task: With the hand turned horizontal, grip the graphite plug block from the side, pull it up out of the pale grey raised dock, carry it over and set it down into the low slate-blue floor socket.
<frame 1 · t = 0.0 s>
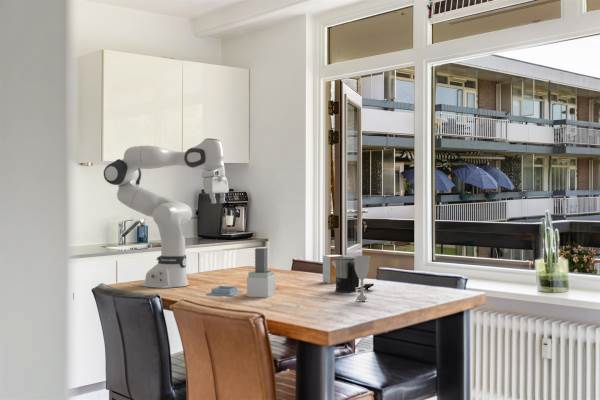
hand: (218, 203, 289), 39 cm above the table, tool pointing down, fingers open, 8 cm apart
floor socket: (224, 293, 274), on the table
milk frother: (354, 291, 280), on the table
raised dock: (261, 295, 269), on the table
small box: (333, 282, 305), on the table
plug block: (261, 276, 269), point 8 cm above the table, touching raised dock
chalice: (362, 301, 255), on the table
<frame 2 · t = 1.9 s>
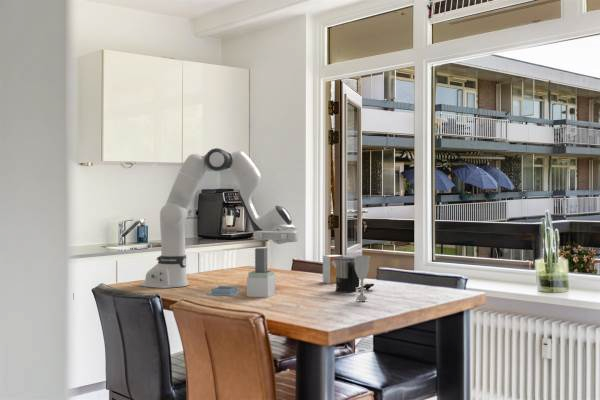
hand: (270, 236, 280), 24 cm above the table, tool horizontal, fingers open, 8 cm apart
nothing on the table moved.
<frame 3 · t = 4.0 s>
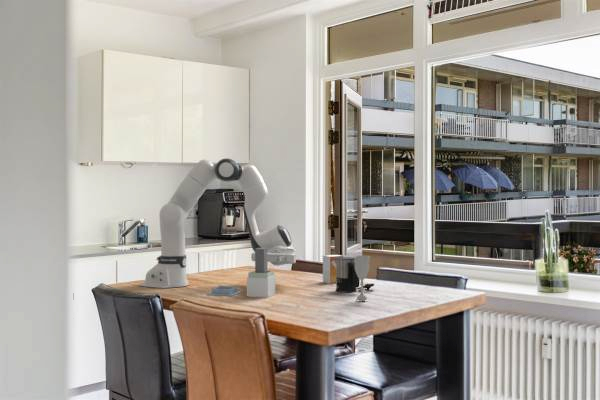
hand: (268, 259, 277), 14 cm above the table, tool horizontal, fingers open, 8 cm apart
nothing on the table moved.
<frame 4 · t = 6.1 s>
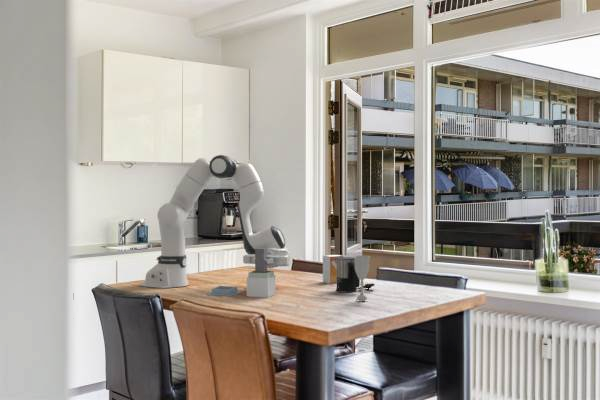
hand: (260, 261, 268), 15 cm above the table, tool horizontal, fingers closed on plug block, 4 cm apart
plug block: (261, 276, 269), point 8 cm above the table, touching gripper, raised dock
everything else where it was.
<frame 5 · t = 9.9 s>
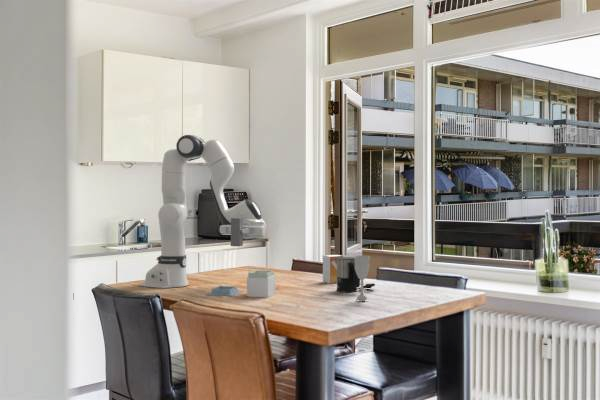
hand: (236, 231, 270), 27 cm above the table, tool horizontal, fingers closed on plug block, 4 cm apart
plug block: (236, 245, 271), point 21 cm above the table, touching gripper
everything else where it was.
when the fingers open (9 cm above the table, at t = 13.7 s): plug block drops 2 cm, resting on floor socket.
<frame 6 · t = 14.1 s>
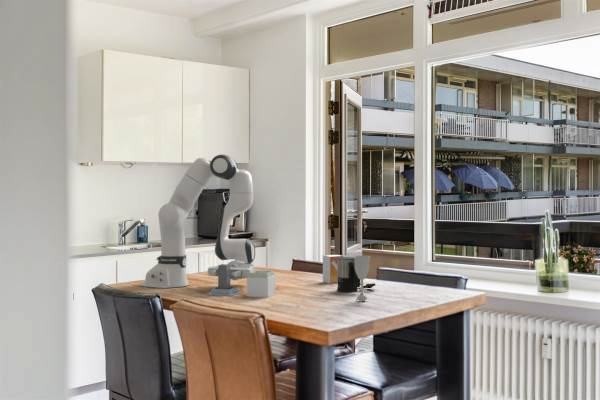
hand: (223, 274, 273), 9 cm above the table, tool horizontal, fingers open, 8 cm apart
plug block: (224, 292, 274), resting on floor socket
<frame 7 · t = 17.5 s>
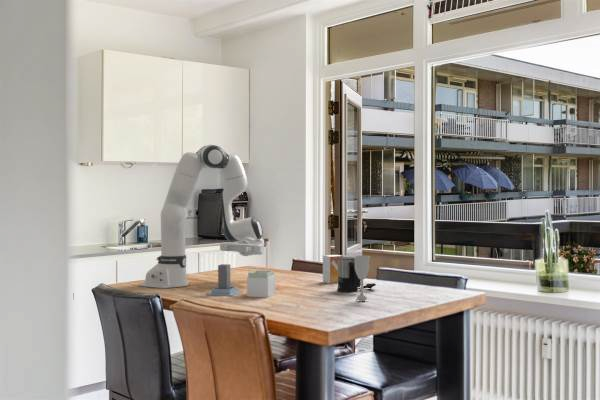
hand: (235, 248, 286), 18 cm above the table, tool horizontal, fingers open, 8 cm apart
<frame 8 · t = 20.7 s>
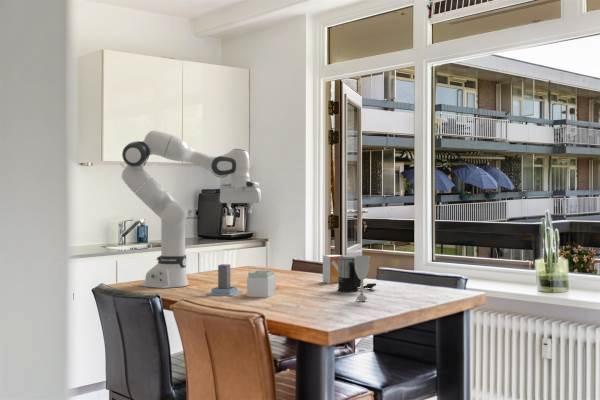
hand: (240, 212, 297), 34 cm above the table, tool pointing down, fingers open, 8 cm apart
at the end: plug block 0.1 cm off-centre on the floor socket, point 0.4 cm above the floor socket's base; plug block tilted 0°; the gripper is holding nothing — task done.
